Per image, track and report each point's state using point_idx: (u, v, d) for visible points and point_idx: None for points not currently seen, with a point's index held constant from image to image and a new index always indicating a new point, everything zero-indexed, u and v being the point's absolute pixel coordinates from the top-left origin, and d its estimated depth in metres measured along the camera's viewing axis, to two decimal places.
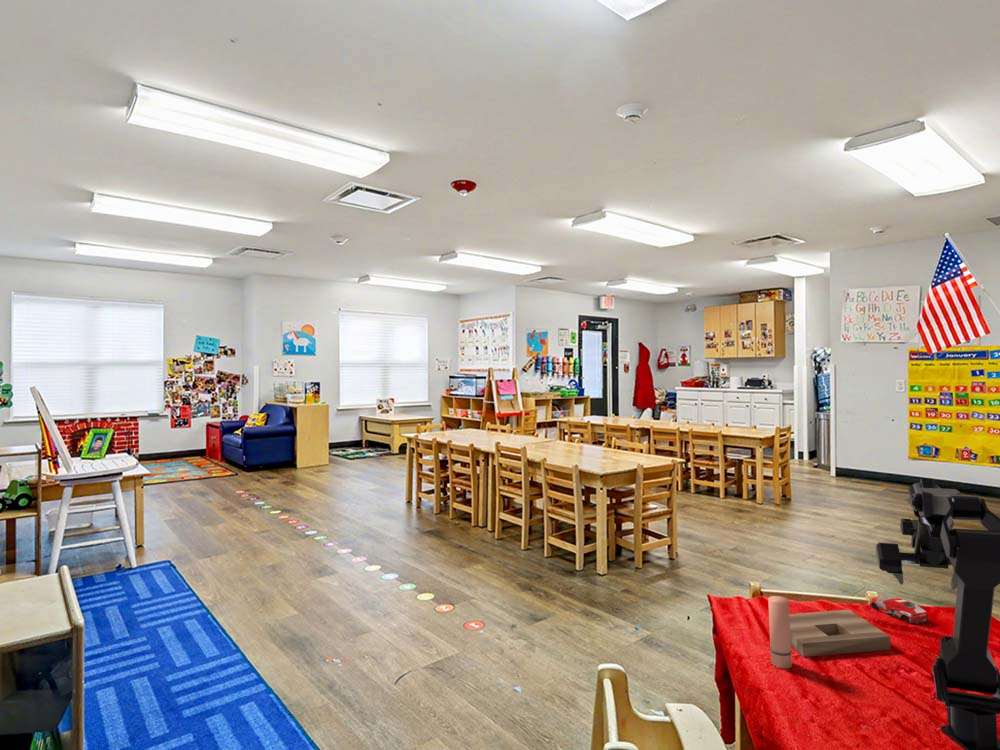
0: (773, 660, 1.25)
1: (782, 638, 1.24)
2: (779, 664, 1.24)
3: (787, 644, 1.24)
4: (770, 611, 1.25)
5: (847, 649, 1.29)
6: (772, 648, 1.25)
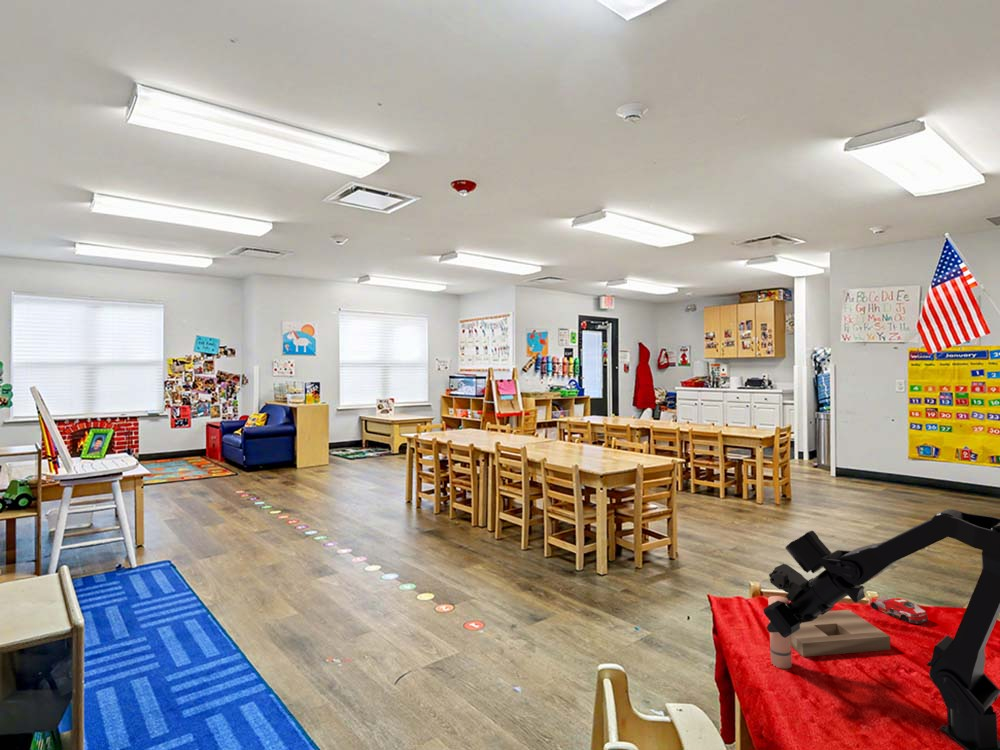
0: (773, 660, 1.25)
1: (782, 638, 1.24)
2: (779, 664, 1.24)
3: (787, 644, 1.24)
4: None
5: (847, 649, 1.29)
6: (772, 648, 1.25)
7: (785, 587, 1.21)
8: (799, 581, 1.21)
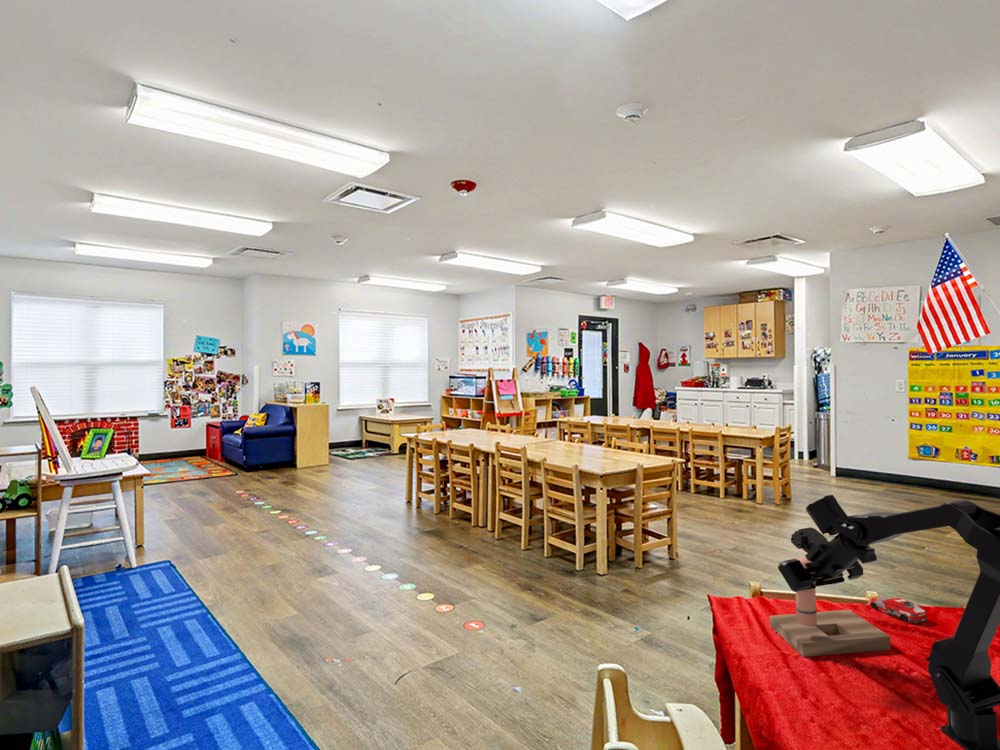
0: (797, 617, 1.31)
1: (805, 596, 1.29)
2: (802, 621, 1.30)
3: (810, 603, 1.29)
4: None
5: (847, 649, 1.29)
6: (796, 606, 1.32)
7: (804, 547, 1.27)
8: (819, 543, 1.26)
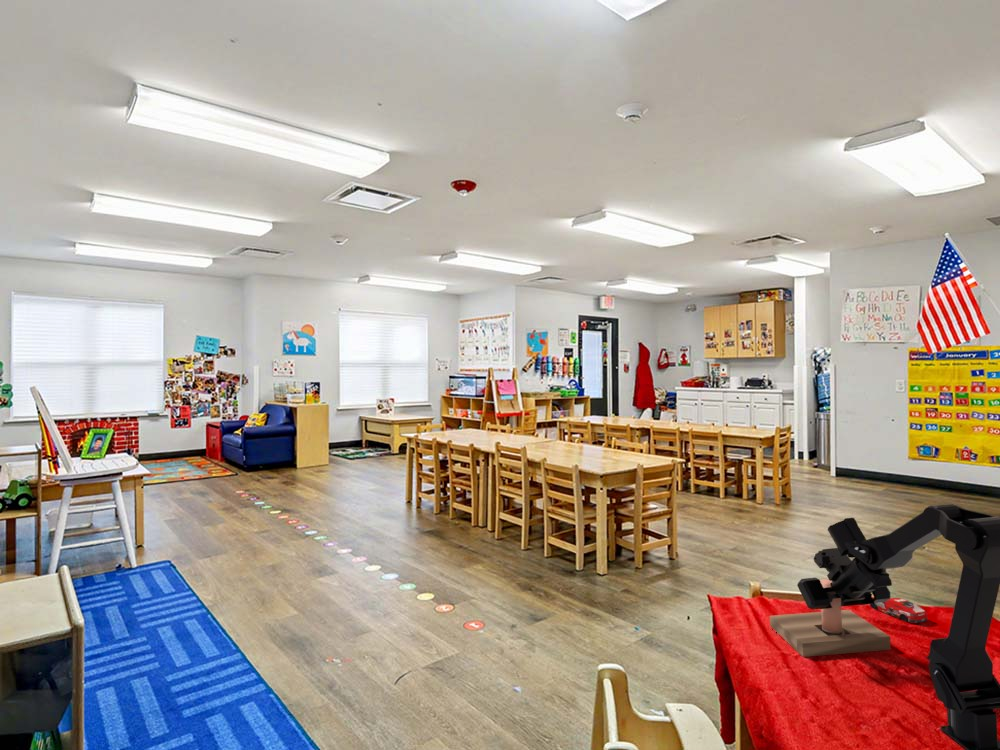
0: None
1: (829, 617, 1.32)
2: None
3: (835, 624, 1.32)
4: None
5: (847, 649, 1.29)
6: (822, 625, 1.34)
7: (825, 567, 1.29)
8: (842, 564, 1.28)
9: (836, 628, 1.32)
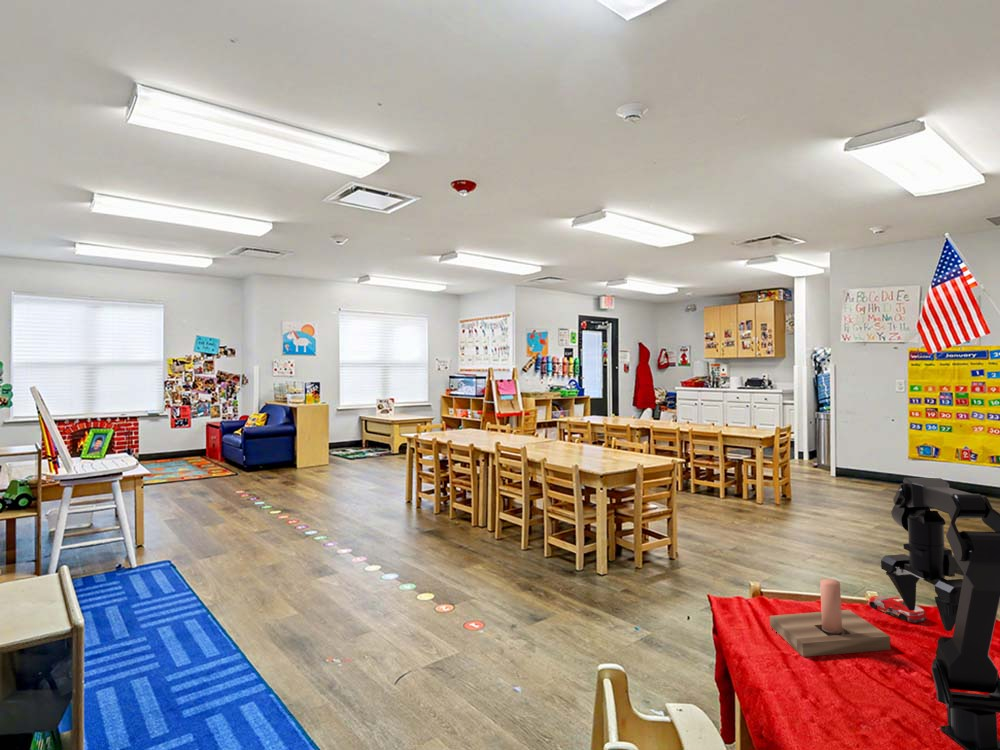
0: None
1: (829, 617, 1.32)
2: None
3: (835, 624, 1.32)
4: None
5: (847, 649, 1.29)
6: (822, 625, 1.34)
7: None
8: None
9: (836, 628, 1.32)
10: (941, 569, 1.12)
